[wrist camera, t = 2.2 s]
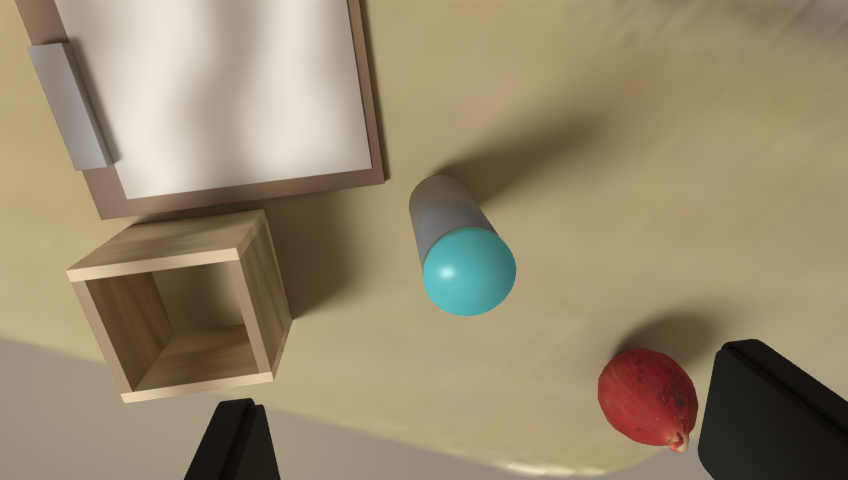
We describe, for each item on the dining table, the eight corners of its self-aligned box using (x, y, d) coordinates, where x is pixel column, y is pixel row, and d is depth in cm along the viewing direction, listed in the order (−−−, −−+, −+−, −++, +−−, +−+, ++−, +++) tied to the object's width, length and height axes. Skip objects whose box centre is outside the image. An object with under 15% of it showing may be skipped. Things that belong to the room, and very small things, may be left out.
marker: (465, 165, 27) (514, 225, 18) (469, 224, 29) (517, 309, 19) (403, 173, 27) (418, 238, 18) (410, 231, 29) (428, 321, 19)
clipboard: (350, -56, 23) (349, -62, 22) (384, 181, 27) (384, 187, 26) (12, -21, 22) (-8, -25, 21) (105, 217, 26) (93, 224, 25)
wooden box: (264, 208, 27) (236, 247, 22) (292, 320, 30) (273, 381, 24) (129, 225, 27) (65, 270, 21) (171, 337, 30) (124, 403, 24)
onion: (600, 318, 32) (667, 397, 25) (670, 335, 34) (753, 415, 26) (567, 384, 34) (619, 476, 27) (634, 398, 35) (702, 490, 28)
